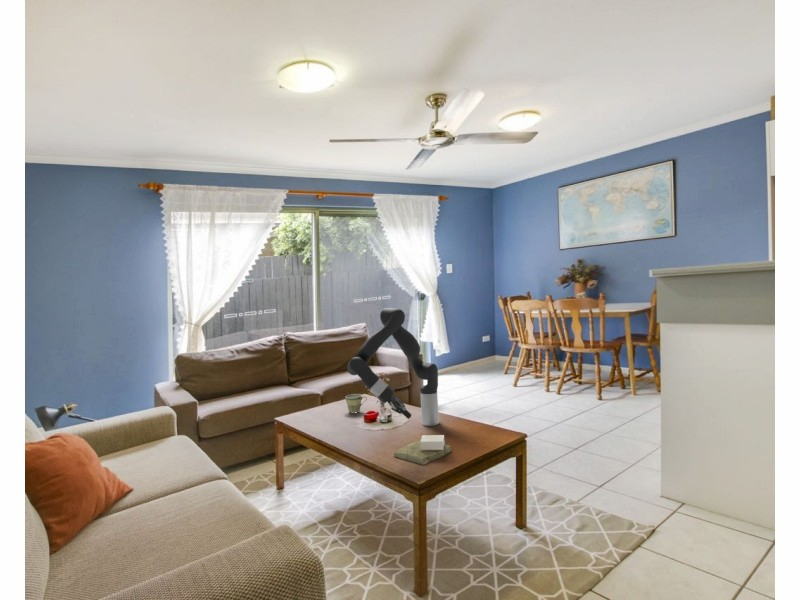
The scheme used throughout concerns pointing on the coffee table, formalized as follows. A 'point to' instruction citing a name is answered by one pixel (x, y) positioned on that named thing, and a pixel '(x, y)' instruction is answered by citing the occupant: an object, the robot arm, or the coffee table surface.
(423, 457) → the decorative tile
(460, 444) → the coffee table surface
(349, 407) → the ceramic cup
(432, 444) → the white rectangular block
